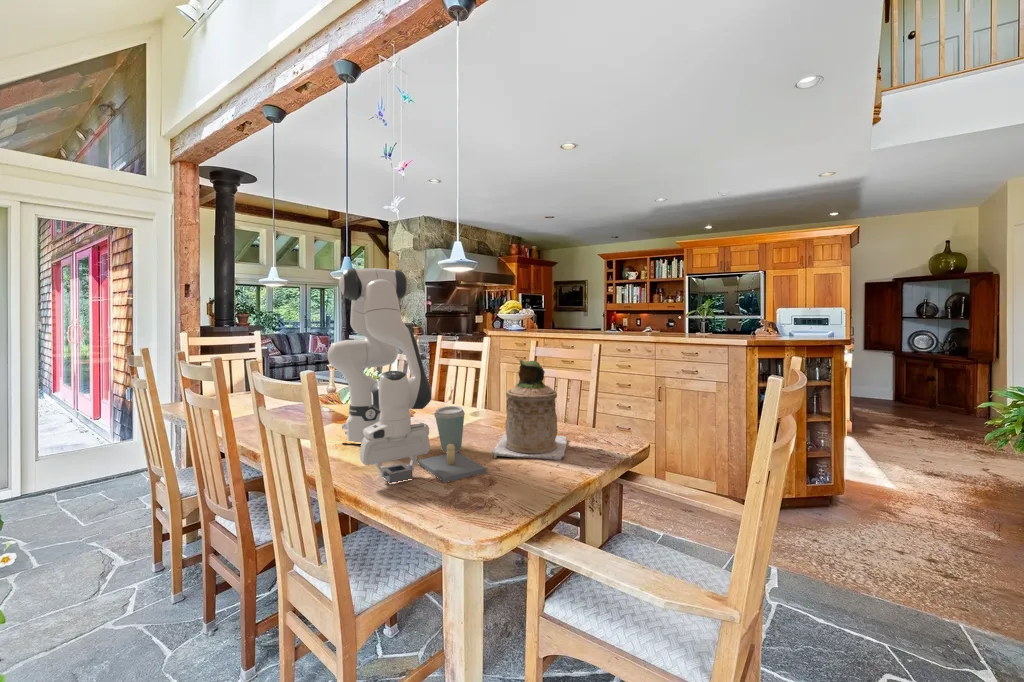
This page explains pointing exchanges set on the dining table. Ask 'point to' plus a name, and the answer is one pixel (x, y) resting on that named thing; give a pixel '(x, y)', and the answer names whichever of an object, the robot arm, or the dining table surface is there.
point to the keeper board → (452, 465)
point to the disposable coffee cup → (450, 426)
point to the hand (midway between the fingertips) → (397, 473)
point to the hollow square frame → (398, 473)
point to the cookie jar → (531, 418)
